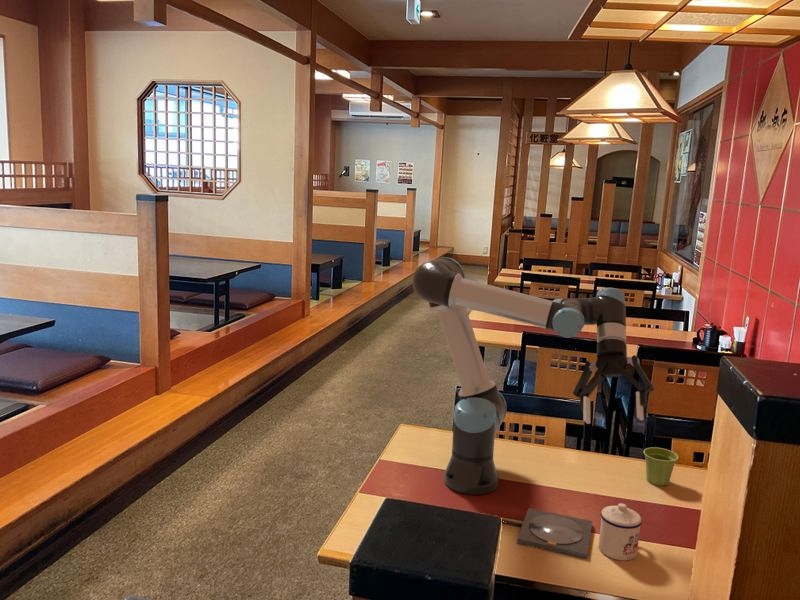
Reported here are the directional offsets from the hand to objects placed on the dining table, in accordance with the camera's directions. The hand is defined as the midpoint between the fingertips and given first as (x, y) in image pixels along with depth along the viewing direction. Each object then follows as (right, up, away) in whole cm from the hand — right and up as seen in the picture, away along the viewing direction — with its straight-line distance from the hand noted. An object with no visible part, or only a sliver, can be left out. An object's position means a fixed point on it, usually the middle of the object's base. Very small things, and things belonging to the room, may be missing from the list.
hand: (612, 420), depth 161 cm
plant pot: (+22, -23, +26) cm, 41 cm away
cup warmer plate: (-19, -27, -3) cm, 33 cm away
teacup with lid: (-1, -29, -9) cm, 30 cm away
